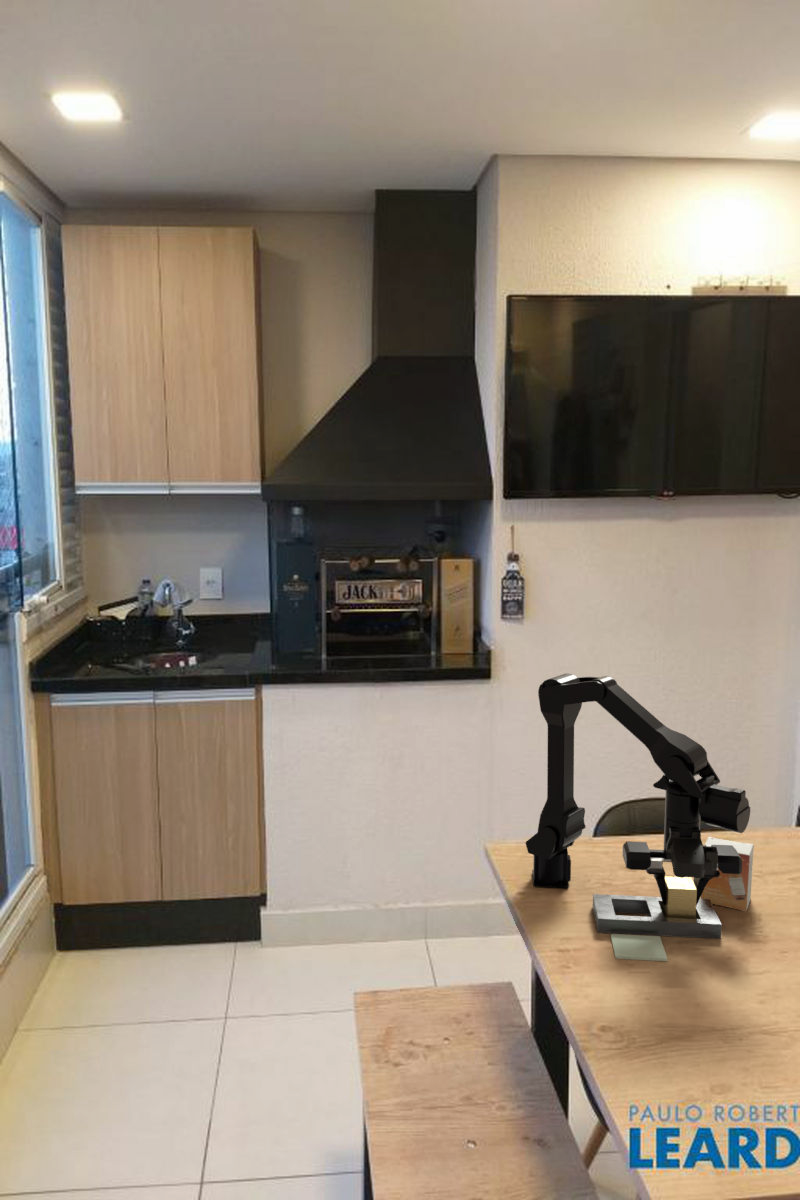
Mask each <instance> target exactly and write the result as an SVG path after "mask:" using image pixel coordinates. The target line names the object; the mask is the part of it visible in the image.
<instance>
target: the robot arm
mask: <svg viewBox="0 0 800 1200" xmlns="http://www.w3.org/2000/svg"><path fill="white" fill-rule="evenodd" d="M537 694H538V701H539V708H540V712H541V714H542V716H543V718H544V720H545V722H546V725H547V761H546V762H547V764H546V766H547V774H546V775H547V776H546V777H547V780H546V781H547V783H546V786H547V789H546V792H547V793H546V794H547V795H546V801H545V802H544V806H543V807H542V810H541V813H540V814H539V821H538V827H537V832H536V833H535V834H534V835H532V836H531V837H530V838H528V839H527V840H526V841H525V846H526V850H527V853H528V854H531V855H533V858H532V859H533V862H532V864H533V869H532V870H531V871H532V884H533V887H537V888H554V889H555V888H557V889H559V888H560V889H568V888H569V885H570V884H569V882H570V881H571V875H572V874H571V873H572V860H571V855H570V854H569V852H568V848H570V847H573V845H574V844H575V841H576V840H577V839H579V837H581V836H582V833H583V830H584V829H586V824H585V813H586V809H585V807H580V806H578V804H577V803H576V800H575V798H574V789H575V787H574V786H575V784H574V783H575V782H574V781H575V780H574V779H575V778H574V777H575V776H574V775H575V774H574V773H575V724H576V721H577V718H578V716H579V713H580V711H581V710H582V709H581V708H582V705H583V703H589V702H596V703H597V704H598V705H600V706H601V707H602V708H603V710H605V711H606V712H607V713H608V714H610V716H612V717H613V718H614V719H615V720H616V721H617V722H618V723H620V724H621V725H622V726H623V727H624V728H625V729H627V731H629V732H630V733H631V734H632V735H633V736H634V737H635V738H636V739H637V740H638V741H640V742H641V744H643V745H644V746H645V747H646V749H647V750H648V751H649V753H650V755H651V758H652V759H653V763H654V764H655V765H656V766H657V767H658V768H659V769H660V770H661V772H662V773H663V774H662V776H661V777H660V778H659V779H658V780H657V781H655V782H654V783H653V784H652V786H653V788H655V789H659V790H664V791H665V801H664V803H665V805H664V829H663V830H664V831H663V832H664V833H663V849H654V848H652V849H650V847H649V845H648V843H647V841H628V840H627V841H625V842H624V843H623V845H622V858H623V861H624V865H625V868H626V869H627V870H634V871H635V870H636V871H645V872H646V873H647V874H648V875H653V877H654V879H655V881H656V884H657V888H658V891H659V894H660V897H661V898H662V902H663V905H666V898H667V897H666V885H665V876H666V870H665V868H664V866H663V864H664V863H671V865H672V866H671V867H672V870H673V871H672V872H673V875H674V877H680V878H684V877H690V878H693V882H694V884H695V887H696V889H697V899H696V906H697V903H698V901H699V899H701V895H702V892H703V890H704V888H705V886H706V885H707V883H708V882H709V880H711V879H712V878H714V877H719V876H720V873H719V871H718V869H719V870H720V871H721V872H722V873H725V874H740V873H742V859H741V857H740V856H739V854H738V852H737V851H736V849H735V848H734V847H733V846H732V845H711V847H709V846H706V845H705V844H703V840H702V835H701V833H702V831H701V822H704V823H705V825H707V826H711V827H714V828H715V827H716V828H720V829H723V830H727V831H732V832H735V833H739V834H742V833H744V832H745V830H746V829H747V827H748V824H749V821H750V817H751V807H750V804H749V799H748V798H747V797H746V793H747V792H746V790H745V789H741V788H733V787H732V788H731V787H728V786H723V785H719V784H720V783H721V780H720V777H719V776H718V775H717V773H716V771H715V770H714V768H713V767H712V765H711V763H710V762H709V760H708V753H707V751H706V749H705V747H703V745H701V744H700V743H698V742H697V741H695V740H693V739H692V738H691V737H689V736H687V735H685V734H684V733H681V732H680V731H679V732H678V731H676V730H673V729H671V728H669V727H667V726H666V725H665V724H663V722H661V721H660V720H659V719H658V718H656V717H655V716H654V715H653V714H652V713H651V712H650V711H649V710H648V709H647V708H646V707H644V706H643V705H642V704H641V703H639V702H638V701H637V700H636V699H635V698H633V696H631V695H630V694H629V693H628V692H627V691H626V690H625V689H624V688H622V687H621V686H620V685H619V684H618V682H617V680H616V679H614V678H613V677H611V676H608V675H603V676H599V677H596V676H582V677H577V676H576V675H575V674H572V673H564V674H560V675H558V676H557V675H556V676H555V677H550V678H548V679H545V680H544V681H543V682H542V683H541V684H539V687H538V691H537ZM697 776H699V777H701V778H699V779H698V780H696V778H695V777H697Z"/></svg>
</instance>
